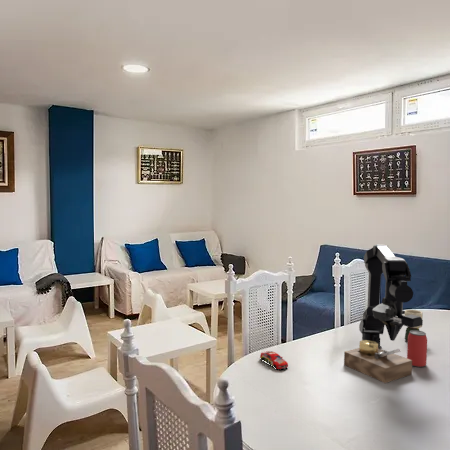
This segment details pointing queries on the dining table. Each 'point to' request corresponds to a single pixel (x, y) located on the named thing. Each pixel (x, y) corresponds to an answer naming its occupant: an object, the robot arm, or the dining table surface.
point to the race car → (274, 359)
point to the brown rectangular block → (379, 365)
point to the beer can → (417, 348)
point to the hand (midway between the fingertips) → (392, 340)
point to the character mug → (408, 329)
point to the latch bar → (388, 353)
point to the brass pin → (368, 347)
